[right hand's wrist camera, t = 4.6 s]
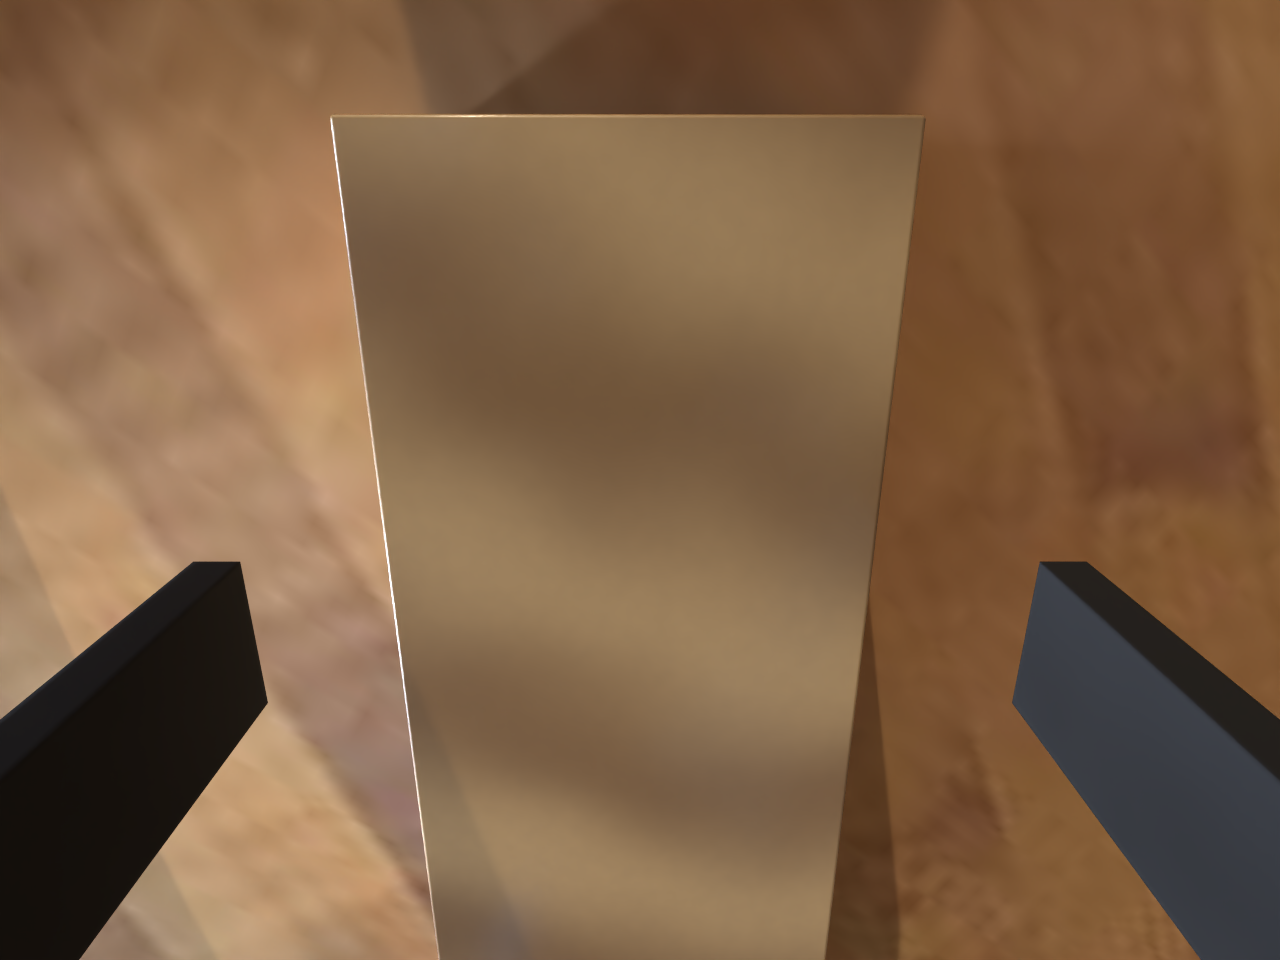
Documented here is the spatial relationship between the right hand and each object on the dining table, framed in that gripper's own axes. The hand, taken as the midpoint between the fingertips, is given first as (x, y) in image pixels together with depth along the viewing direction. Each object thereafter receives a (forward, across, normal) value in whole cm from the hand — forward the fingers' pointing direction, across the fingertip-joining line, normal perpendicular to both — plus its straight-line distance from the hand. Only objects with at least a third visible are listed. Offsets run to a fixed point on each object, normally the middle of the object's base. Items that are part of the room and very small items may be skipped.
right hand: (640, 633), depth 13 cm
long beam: (+9, 0, -32) cm, 34 cm away
